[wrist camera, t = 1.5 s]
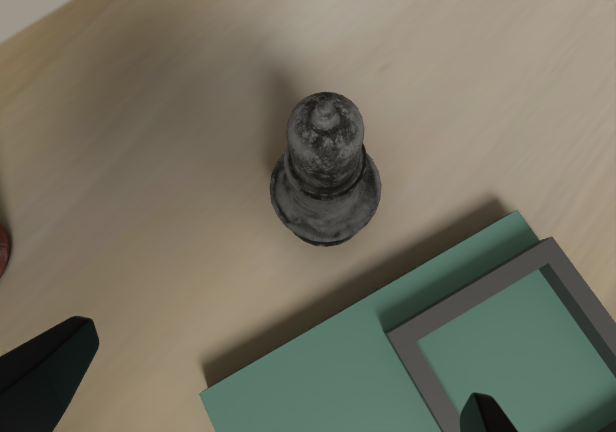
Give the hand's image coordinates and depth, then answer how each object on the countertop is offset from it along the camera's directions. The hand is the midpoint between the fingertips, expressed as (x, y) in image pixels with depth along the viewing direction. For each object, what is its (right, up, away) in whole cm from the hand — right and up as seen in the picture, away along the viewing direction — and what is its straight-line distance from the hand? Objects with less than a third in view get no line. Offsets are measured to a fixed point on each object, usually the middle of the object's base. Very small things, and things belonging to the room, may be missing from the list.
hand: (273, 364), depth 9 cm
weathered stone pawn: (+2, +4, +15) cm, 15 cm away
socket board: (+8, -8, +11) cm, 16 cm away
